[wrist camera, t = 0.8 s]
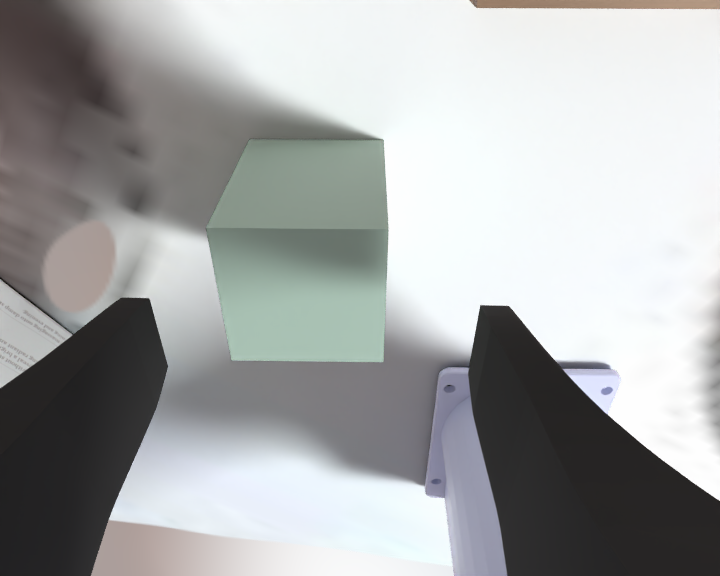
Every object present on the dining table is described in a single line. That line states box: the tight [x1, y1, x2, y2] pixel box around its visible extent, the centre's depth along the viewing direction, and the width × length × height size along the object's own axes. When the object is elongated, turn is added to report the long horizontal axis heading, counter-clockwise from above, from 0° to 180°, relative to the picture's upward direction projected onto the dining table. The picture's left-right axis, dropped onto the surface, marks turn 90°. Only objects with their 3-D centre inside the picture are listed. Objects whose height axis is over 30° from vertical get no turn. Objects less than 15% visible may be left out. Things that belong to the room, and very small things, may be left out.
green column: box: [206, 139, 388, 362], centre depth 17 cm, size 4×4×6 cm
